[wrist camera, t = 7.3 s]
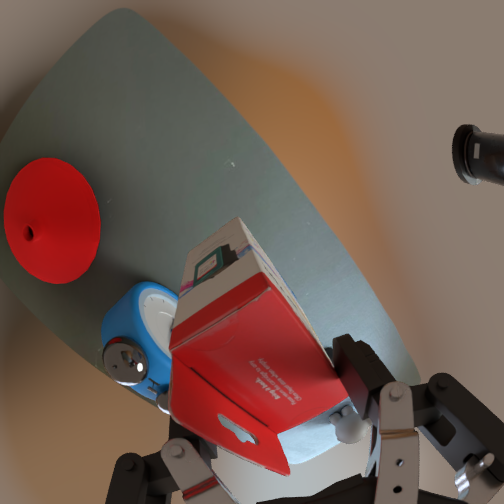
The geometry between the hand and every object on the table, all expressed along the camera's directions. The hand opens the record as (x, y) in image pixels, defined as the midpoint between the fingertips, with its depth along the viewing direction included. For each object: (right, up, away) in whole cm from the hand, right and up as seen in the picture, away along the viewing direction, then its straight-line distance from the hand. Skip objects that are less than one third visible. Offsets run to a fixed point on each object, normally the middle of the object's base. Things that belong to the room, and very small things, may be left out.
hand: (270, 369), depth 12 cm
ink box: (-2, +4, +10) cm, 11 cm away
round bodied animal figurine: (+21, -29, +39) cm, 53 cm away
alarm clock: (-12, -2, +23) cm, 26 cm away
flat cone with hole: (-26, +10, +16) cm, 32 cm away
